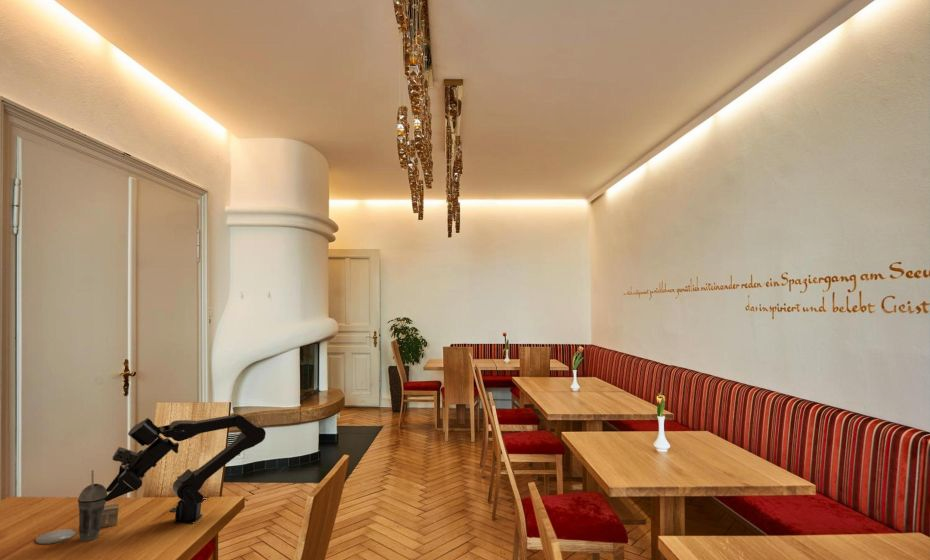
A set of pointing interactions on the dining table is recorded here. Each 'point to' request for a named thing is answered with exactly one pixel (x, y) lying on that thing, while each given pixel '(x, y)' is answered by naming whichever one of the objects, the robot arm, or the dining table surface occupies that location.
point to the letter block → (110, 514)
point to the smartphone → (177, 505)
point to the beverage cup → (91, 510)
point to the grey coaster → (55, 536)
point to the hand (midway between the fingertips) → (106, 495)
